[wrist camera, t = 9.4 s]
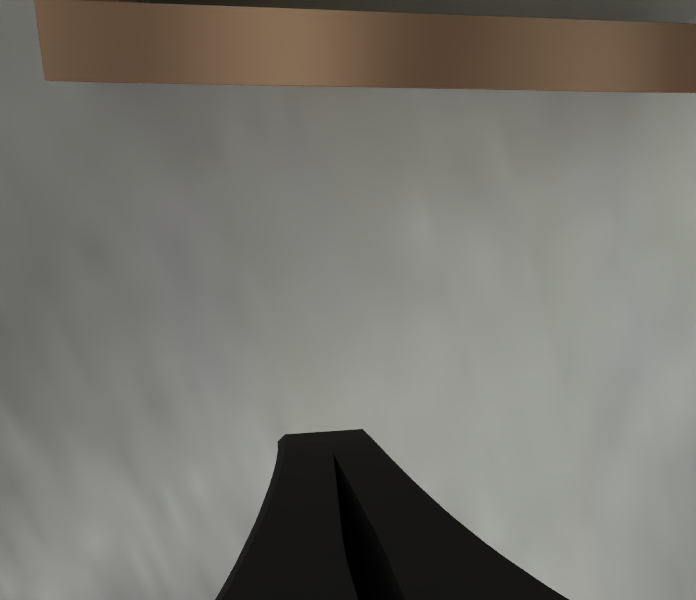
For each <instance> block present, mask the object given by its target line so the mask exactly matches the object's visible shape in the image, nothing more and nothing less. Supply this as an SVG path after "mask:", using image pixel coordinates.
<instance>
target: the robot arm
mask: <svg viewBox="0 0 696 600" xmlns="http://www.w3.org/2000/svg"><path fill="white" fill-rule="evenodd" d="M215 600H569V599H567V598H565V597H564V596H562V595H561V594H559V593H557V592H556V591H554V590H552V589H551V588H549V587H548V586H546V585H545V584H543V583H542V582H540V581H539V580H537V579H536V578H534V577H533V576H531V575H530V574H528V573H527V572H525V571H524V570H523V569H521V568H520V567H518V566H517V565H515V564H514V563H512V562H511V561H509V560H508V559H506V558H505V557H504V556H502V555H501V554H499V553H498V552H497V551H495V550H494V549H493V548H491V547H490V546H489V545H487V544H486V543H485V542H483V541H482V540H481V539H480V538H478V537H477V536H476V535H475V534H473V533H472V532H471V531H470V530H468V529H467V528H466V527H465V526H464V525H462V524H461V523H460V522H459V521H457V520H456V519H455V518H454V517H452V516H451V515H450V514H449V513H448V512H447V511H445V510H444V509H443V508H442V507H441V506H440V505H439V504H438V503H437V502H436V501H435V500H433V499H432V498H431V497H430V496H429V495H428V494H427V493H426V492H425V491H424V490H423V489H422V488H420V487H419V486H418V485H417V484H416V483H415V482H414V481H413V480H412V479H411V478H410V477H409V476H408V475H407V474H406V473H405V472H404V471H403V470H402V469H401V468H400V467H399V466H398V465H397V464H396V463H395V462H394V461H393V460H392V459H391V458H390V457H389V456H388V455H387V454H386V453H385V452H384V451H383V449H382V448H381V447H380V446H379V445H378V444H377V443H376V442H375V441H374V440H373V439H372V438H371V437H370V436H369V435H368V434H367V433H366V432H365V431H364V430H363V429H358V430H344V431H329V432H315V433H300V434H285V435H284V436H283V437H282V438H281V439H280V440H279V441H278V454H277V460H276V465H275V469H274V472H273V476H272V479H271V482H270V486H269V488H268V491H267V494H266V496H265V499H264V501H263V504H262V507H261V509H260V512H259V515H258V517H257V519H256V522H255V524H254V526H253V528H252V530H251V533H250V535H249V537H248V539H247V541H246V543H245V545H244V547H243V549H242V551H241V553H240V555H239V558H238V560H237V562H236V564H235V565H234V567H233V569H232V571H231V573H230V575H229V577H228V578H227V580H226V582H225V584H224V586H223V587H222V589H221V591H220V592H219V594H218V596H217V598H216V599H215Z"/></svg>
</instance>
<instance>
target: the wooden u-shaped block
mask: <svg viewBox="0 0 696 600" xmlns="http://www.w3.org/2000/svg"><path fill="white" fill-rule="evenodd" d="M34 2H35V10H36V17H37V25H38V32H39V39H40V47H41V54H42V62H43V69H44V77H45V80H49V81H77V82H119V83H173V84H227V85H280V86H334V87H388V88H441V89H495V90H549V91H602V92H662V93H696V24H688V23H661V22H635V21H609V20H582V19H556V18H530V17H503V16H477V15H451V14H424V13H398V12H371V11H345V10H319V9H292V8H266V7H240V6H213V5H187V4H161V3H143V0H34Z"/></svg>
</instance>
